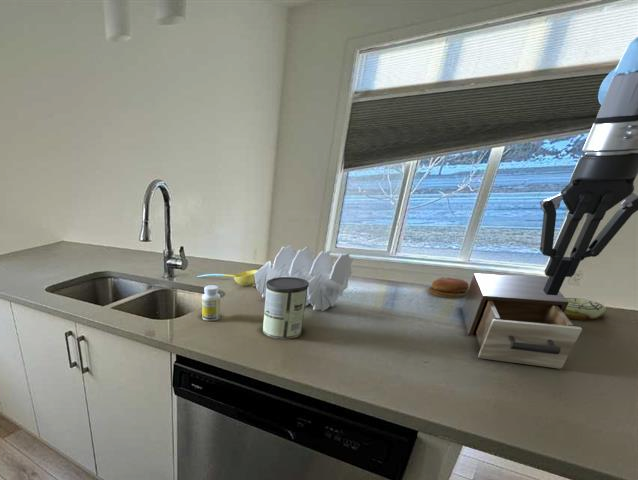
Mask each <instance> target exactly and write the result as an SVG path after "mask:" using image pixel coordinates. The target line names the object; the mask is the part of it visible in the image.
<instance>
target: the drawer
mask: <svg viewBox="0 0 638 480" xmlns="http://www.w3.org/2000/svg"><path fill="white" fill-rule="evenodd" d="M582 331H583V328H582V327H581V326H576V325H575V326H574V324H573V323H572V322H571V320H570V319H569V318H567V317H566V315H565V314H564V313H563V312H562V310H561V309H560V308H559V306H558V305H553V304H540V303H527V302H514V301H500V300H487V299H486V301H485V304H484V306H483V309H482V312H481V314H480V317H479V320H478V322H477V325H476V327H475V332H476V335H477V336H476V338H477V341H478V346H479V348H480V349H479V352H478V354H477V358H478V359H482V360H491V361H500V362H506V363H516V364H523V365H528V366H535V367H536V366H537V367H544V368H552V369H559V370H561V369H563V367H564V365H565V363H566V361H567V359H568V358H569V355H570V353H571V352H572V350H573V348H574V346H575V344H576V343H577V341H578V338H579V336H580V334H582V333H581V332H582Z"/></svg>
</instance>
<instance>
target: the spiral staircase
mask: <svg viewBox="0 0 638 480" xmlns="http://www.w3.org/2000/svg"><path fill="white" fill-rule="evenodd" d="M292 247H293V246H292V244H289V245H287V246H282V247H281V248H280V250H279V251H278V253H277V254H276V255H275V256H274V261H273V264H272V263H271V260H268V261H267V262H265V263H264V264H263V265H262V266H261V267H259V268H258V269H257V270H258V271H256V272H255V273H254V277H255V282H254V284H255V285H256V286H255V289H256V290H257V291H258V293H260V295H261V298H266V287H267V286H266V282H267V281H268V280H270V279H274V278H280V277H294V278H300V279H304V280H306V281H308V282H309V286H308V289H307V296H306V303H305V307H306V306H308V305H311V306H312V311H313V310H314V311H315V310H316V311H319V310H321V311H325V310H326V311H327V310H328V309H329V308H330V307H331V308H333V307H335V304H336V302H337V300H338V298H339V297H342V296H343V294H344V291H345V290H347V289H348V285H349V278H350V277H351V275H352V274H353V270H352V263H353V260H354V259H353V258H351V257H350V252H349V251H348V252H346V253H344V254H343V253H340V255H339V256H338V258H337V259H336V260H335V262H334V263H333V261H334V257H332V256H331V255H330V253H331V250H326V251H324V250H321V251H320V252H319V254H318V255H317V256H316V258H315V259H313V254H314V251H313V250H309V246H305V247H304V248H303V249H298V250H295V249H293V248H292ZM332 264H333V266H332Z"/></svg>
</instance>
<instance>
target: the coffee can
mask: <svg viewBox="0 0 638 480" xmlns="http://www.w3.org/2000/svg"><path fill="white" fill-rule="evenodd" d="M266 286H267V287H266V297H264V298H265V300H264V312H263V324H262V333H264V334H265V335H266V336H268V337H271V338H274V339H293V338H297V337H299V336H301V335H302V332H303V331H302V330H303V324H304V316H305V309H306V306H305V303H306V296H307V289H308V286H309V282H308V281H306V280H304V279H300V278H294V277H280V278H274V279H270V280H268V281H267V282H266Z"/></svg>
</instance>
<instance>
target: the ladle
mask: <svg viewBox="0 0 638 480" xmlns="http://www.w3.org/2000/svg"><path fill="white" fill-rule="evenodd" d="M258 270H259V269H251V270H246V271H243V272H239V273H236V274H227V273H226V274H225V273H206V274H202V275H197V278H205V277H233V278H234V281H235V282H236V284H238V285H240V286H242V287H249V286H251V285H253V284H255V277H254V273H255V272H256V271H258Z"/></svg>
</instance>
